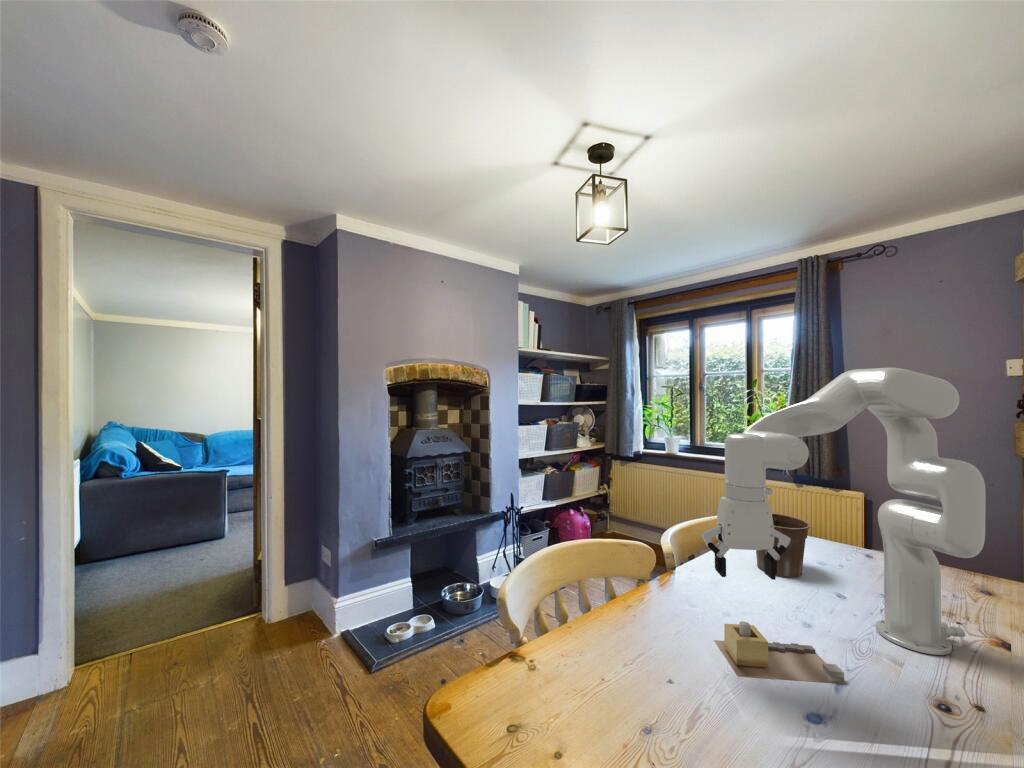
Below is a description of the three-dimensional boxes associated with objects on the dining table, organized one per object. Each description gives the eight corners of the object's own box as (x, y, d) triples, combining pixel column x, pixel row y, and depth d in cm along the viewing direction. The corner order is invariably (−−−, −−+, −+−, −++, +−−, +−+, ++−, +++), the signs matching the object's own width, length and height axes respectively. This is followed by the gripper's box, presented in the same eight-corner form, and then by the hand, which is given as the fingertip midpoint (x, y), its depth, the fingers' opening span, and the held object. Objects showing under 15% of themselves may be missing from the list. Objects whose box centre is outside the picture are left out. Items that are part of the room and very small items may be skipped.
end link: (753, 649, 89) (753, 625, 89) (768, 667, 83) (768, 641, 83) (724, 647, 90) (724, 623, 90) (736, 665, 84) (736, 639, 84)
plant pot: (823, 582, 126) (823, 528, 127) (769, 581, 126) (769, 527, 127) (788, 560, 142) (788, 513, 143) (740, 560, 143) (740, 512, 143)
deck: (809, 652, 91) (809, 613, 91) (848, 690, 79) (847, 646, 79) (713, 645, 93) (713, 608, 93) (737, 682, 81) (737, 639, 81)
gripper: (778, 490, 91) (779, 570, 90) (696, 487, 92) (696, 566, 92) (799, 498, 83) (800, 586, 83) (708, 496, 85) (709, 581, 84)
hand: (745, 575), depth 87 cm, fingers open, 9 cm apart
